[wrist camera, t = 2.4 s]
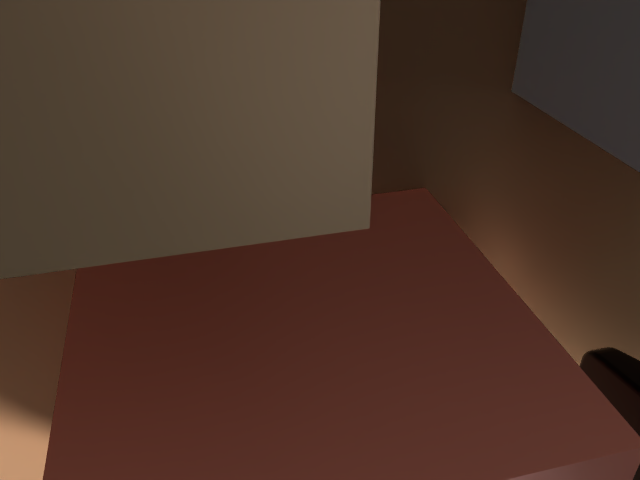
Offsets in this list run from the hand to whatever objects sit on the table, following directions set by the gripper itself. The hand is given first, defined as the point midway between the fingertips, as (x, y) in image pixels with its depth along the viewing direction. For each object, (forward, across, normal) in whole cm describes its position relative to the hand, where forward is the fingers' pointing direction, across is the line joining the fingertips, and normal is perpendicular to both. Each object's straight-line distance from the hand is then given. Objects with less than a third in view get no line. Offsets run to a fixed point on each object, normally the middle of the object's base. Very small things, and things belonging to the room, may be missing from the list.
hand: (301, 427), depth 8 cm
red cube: (+2, 0, 0) cm, 2 cm away
